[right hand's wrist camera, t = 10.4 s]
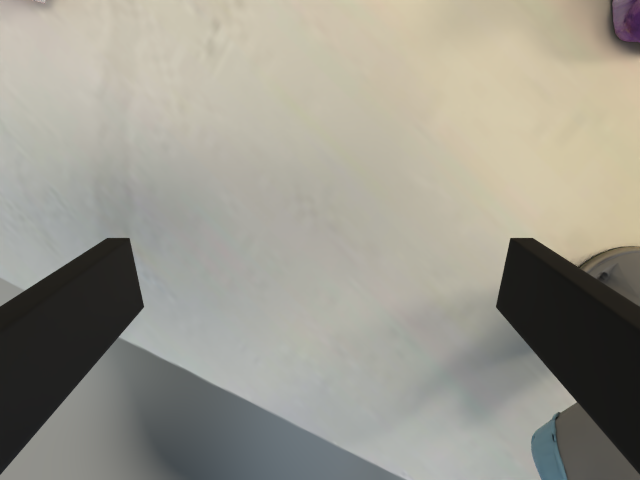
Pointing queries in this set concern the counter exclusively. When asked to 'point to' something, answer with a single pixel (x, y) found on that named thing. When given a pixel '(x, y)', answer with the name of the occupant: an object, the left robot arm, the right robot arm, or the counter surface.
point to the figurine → (627, 19)
